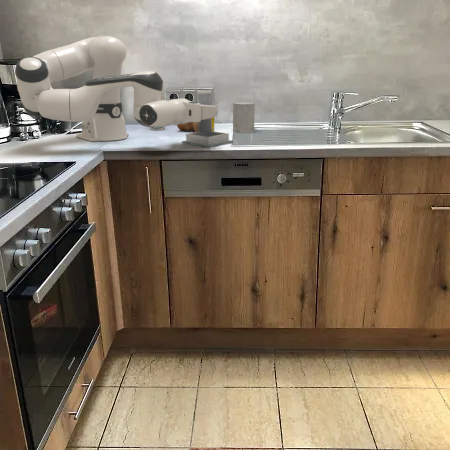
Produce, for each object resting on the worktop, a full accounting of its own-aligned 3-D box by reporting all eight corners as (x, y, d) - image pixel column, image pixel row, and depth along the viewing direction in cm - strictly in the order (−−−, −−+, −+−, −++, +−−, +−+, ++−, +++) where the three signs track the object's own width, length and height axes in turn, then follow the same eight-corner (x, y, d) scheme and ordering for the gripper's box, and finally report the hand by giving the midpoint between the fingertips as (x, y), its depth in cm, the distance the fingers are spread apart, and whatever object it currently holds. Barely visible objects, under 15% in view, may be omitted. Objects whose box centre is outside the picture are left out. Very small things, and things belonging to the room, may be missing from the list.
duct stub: (195, 131, 189) (194, 90, 185) (204, 129, 193) (204, 89, 188) (205, 132, 186) (204, 91, 181) (215, 131, 190) (214, 90, 185)
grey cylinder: (238, 133, 215) (238, 104, 211) (229, 130, 223) (229, 102, 219) (258, 132, 218) (258, 103, 214) (248, 129, 226) (248, 101, 222)
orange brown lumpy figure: (206, 136, 230) (175, 126, 228) (213, 114, 227) (181, 103, 225) (204, 142, 212) (171, 131, 211) (212, 118, 209) (178, 107, 207)
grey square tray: (181, 143, 192) (181, 134, 191) (206, 138, 202) (206, 129, 201) (208, 147, 183) (208, 138, 182) (233, 142, 193) (233, 133, 192)
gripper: (161, 117, 186) (188, 114, 195) (201, 122, 173) (227, 118, 183) (160, 100, 184) (187, 97, 193) (200, 104, 171) (227, 101, 181)
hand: (207, 108), depth 188 cm, fingers closed on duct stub, 5 cm apart
